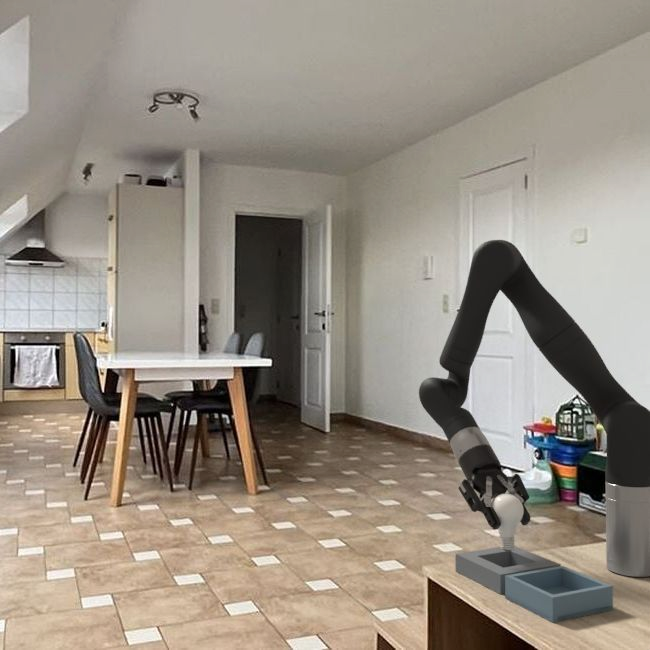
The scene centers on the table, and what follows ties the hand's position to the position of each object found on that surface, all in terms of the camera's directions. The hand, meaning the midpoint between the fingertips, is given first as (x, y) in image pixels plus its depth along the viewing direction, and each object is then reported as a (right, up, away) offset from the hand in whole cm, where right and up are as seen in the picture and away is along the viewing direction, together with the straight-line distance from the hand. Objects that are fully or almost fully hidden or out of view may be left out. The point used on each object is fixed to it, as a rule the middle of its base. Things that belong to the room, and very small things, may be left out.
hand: (512, 524), depth 137 cm
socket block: (-1, -10, +1) cm, 10 cm away
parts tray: (+4, -10, -13) cm, 17 cm away
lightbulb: (-1, -6, +1) cm, 6 cm away
